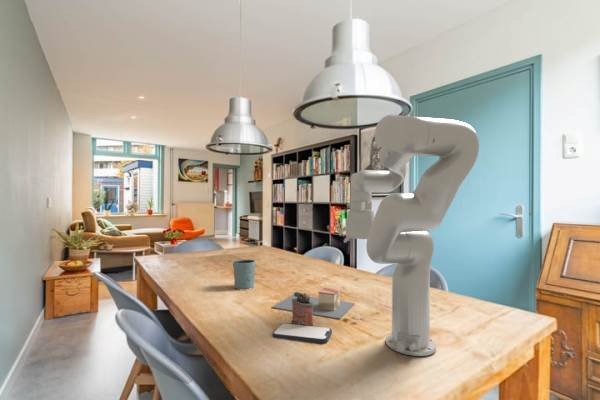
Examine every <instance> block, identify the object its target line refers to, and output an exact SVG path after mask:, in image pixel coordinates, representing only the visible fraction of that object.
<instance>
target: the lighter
mask: <svg viewBox="0 0 600 400" xmlns="http://www.w3.org/2000/svg"><path fill="white" fill-rule="evenodd" d="M293 295H294V296H295V297H297V298H295V299H292V311H291V312H292V320H291V324H294V325H304V326H314V325H313V323H314V321H313V320H314V319H313V316H314V315H313V303H312V302H310V301H309V299H310V297H311V295H308V294H307V293H305V292H303V293H301V292H299V291H294V292H293Z"/></svg>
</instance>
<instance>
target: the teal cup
mask: <svg viewBox="0 0 600 400" xmlns="http://www.w3.org/2000/svg"><path fill="white" fill-rule="evenodd" d="M232 266H233V279H234V289H235V288H237V289H249V288H252V289H254V288H255V276H256V275H255V273H256V272H255V271H256V270H255V269H256V260H255V259H236V260H233V261H232ZM253 287H254V288H253ZM237 289H236V290H237ZM249 290H250V289H249Z"/></svg>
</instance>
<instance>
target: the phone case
mask: <svg viewBox="0 0 600 400" xmlns="http://www.w3.org/2000/svg"><path fill="white" fill-rule="evenodd" d="M332 333H333V332H332V329H331V327H322V326H314V325H313V326H304V325H294V324H292V323H281V324H279V326H278V327H276V329H275V330H274V331H273V332H272V338H276V339H282V338H283V339H284V340H291V341H298V342H307V343H313V344H321V345H326V344H327V343H328V341H329V340H330V338H331V335H332ZM283 339H282V340H283Z"/></svg>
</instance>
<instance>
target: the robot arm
mask: <svg viewBox="0 0 600 400" xmlns="http://www.w3.org/2000/svg"><path fill="white" fill-rule="evenodd" d="M374 141H375V143H376V144H377V146H379V147H381V148H380V149H379V152H378V158H379V161H380V163H381V164H382V165H383V167H384V168H386V169H387V170H383V169H382V170H378V169H362V170H359V171H357V172H354V173H352V174H351V175H350V202H349V203H347V204H346V207H347V208H348V209H349V210H348V211H347V216H346V221H345V222H346V223H345V227H342V228H340V229H338V230H337V232H338V235H339V236H340V239H341V240H342V241H343V243H344V252H345V254H346V255H348V254H350V253H351V240H352V239H356V240H366V248H365V249H366V253H367V256H368V258H369V259H370V261H372V262H373V263H376V264H379V265H390V264H391V265H393V264H397V265H396V267H395V268H394V271H393V273H392V278H391V333H390V334H388V335H387V336H386V337H385V344H386V345H387V347H389V349H391V350H393V351H395V352H397V353H400V354H403V355H406V356H412V357H426V356H430V355H433V354H434V353H435V352H436V351H437V344H436V342H435V341H434V340H433V339H431V338H430V337H431V336H430V332H431V331H430V330H431V329H430V328H431V327H430V324H431V323H430V319H431V317H430V315H431V313H430V312H431V311H430V310H431V309H430V307H431V305H430V303H431V302H430V292H431V291H430V288H431V287H430V286H431V285H430V278H431V277H430V276H431V275H430V274H431V267H432V265H431V264H432V259H433V255H434V246H435V244H434V239H433V237H432V235H431V233H430V232H431V231H434V230H436V229H438V227H439V226H440V225H441V223H442V222H443V219H444V218H445V216H446V215H447V212H448V210H449V208H450V206H451V204H452V203H453V200H454V199H455V196H456V194H457V193H458V190H459V188H460V187H461V185H462V184H463V182H464V180H465V179H466V178H467V176H468V175H469V174H470V172H471V171H472V169H473V168H474V166H475V163H476V161H477V158H478V157H479V151H480V150H479V149H480V144H479V143H480V142H479V137H478V133H477V131H476V130H475V129H474V128H473V127H472V126H471V125H470V124H468V123H466V122H463V121H459V120H456V119H448V118H436V117H435V118H434V117H424V116H410V115H409V116H408V115H400V114H399V115H398V114H387V115H385V116H383V117H382V118H381V119H380V120H379V121H378V122H377V124H376V127H375V130H374ZM414 156H424V157H425V156H426V157H427V156H429V157H438V159H437V160H436V161H435V162H433V164H431V165H430V166H429V167H428V168H427V169H426V170H425V171H424V172H423V174H422V175H421V176H420V178H419V181H418V184H417V185H416V188H415V189H414V191H412V192H394V193H390V192H393V191H395V190H396V189H397V188H398V187H399V186H401V185H402V184H403V182H404V181H405V179H406V175H407V163H408V162H410V160H411V159H412V158H414ZM372 193H390V194H387V195H386V196H385V197H384V198H383V199H382V200H381V201H380V203H379V204H378V207H377V210H376V213H375V212H374V211H373V206H372V205H373V204H372V203H373V199H372V198H373V197H372V196H373V195H372ZM344 232H345V234H344Z"/></svg>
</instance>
